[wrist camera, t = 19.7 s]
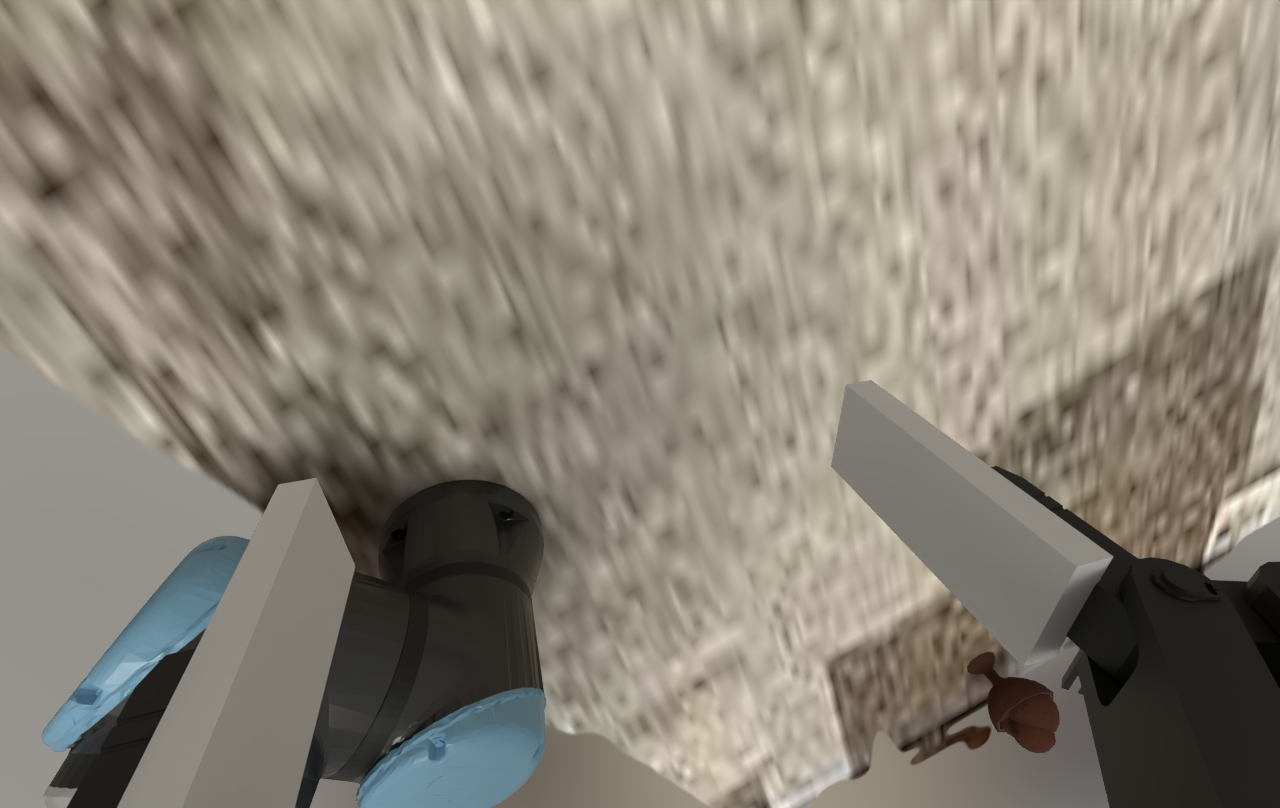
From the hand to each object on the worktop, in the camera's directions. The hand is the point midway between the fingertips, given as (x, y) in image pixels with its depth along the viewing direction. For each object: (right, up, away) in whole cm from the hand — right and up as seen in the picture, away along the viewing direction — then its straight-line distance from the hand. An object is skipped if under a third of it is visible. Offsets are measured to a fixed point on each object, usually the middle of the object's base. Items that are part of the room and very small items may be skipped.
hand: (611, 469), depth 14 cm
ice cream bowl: (+62, -45, +84) cm, 114 cm away
